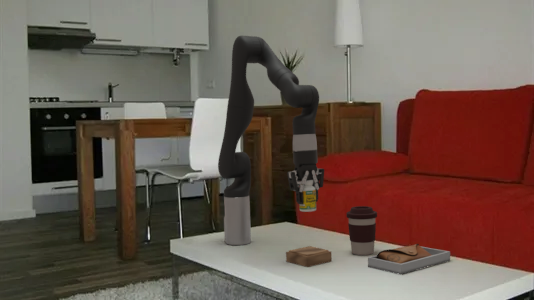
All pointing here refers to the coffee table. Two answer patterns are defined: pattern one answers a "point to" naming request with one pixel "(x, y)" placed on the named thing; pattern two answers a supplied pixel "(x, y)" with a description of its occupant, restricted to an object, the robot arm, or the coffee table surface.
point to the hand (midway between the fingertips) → (307, 202)
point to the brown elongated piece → (403, 254)
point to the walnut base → (308, 256)
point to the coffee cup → (362, 229)
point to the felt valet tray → (410, 262)
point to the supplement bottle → (308, 197)
